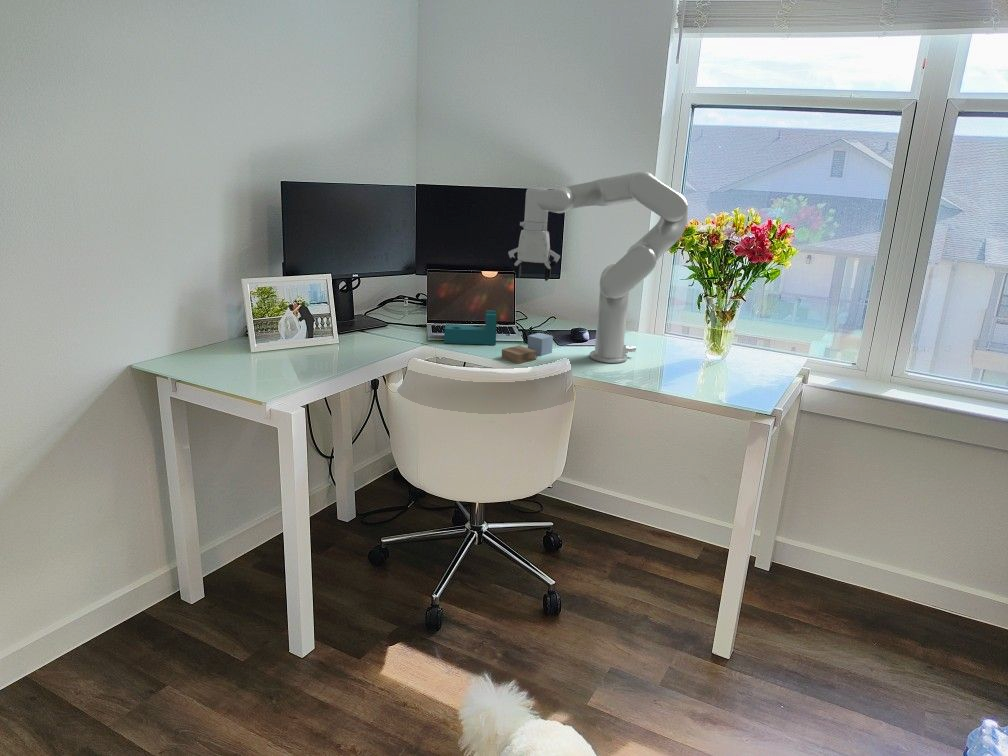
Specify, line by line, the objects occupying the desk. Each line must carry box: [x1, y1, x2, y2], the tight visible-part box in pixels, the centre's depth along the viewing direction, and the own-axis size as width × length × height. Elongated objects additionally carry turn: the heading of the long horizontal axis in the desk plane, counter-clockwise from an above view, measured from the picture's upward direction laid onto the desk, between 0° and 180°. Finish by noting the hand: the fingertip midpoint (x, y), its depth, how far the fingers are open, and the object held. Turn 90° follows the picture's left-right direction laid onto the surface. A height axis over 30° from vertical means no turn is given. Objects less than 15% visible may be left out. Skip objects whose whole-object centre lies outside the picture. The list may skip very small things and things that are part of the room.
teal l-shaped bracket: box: [443, 310, 498, 346], centre depth 259 cm, size 18×11×10 cm, turn 92°
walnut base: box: [501, 345, 537, 365], centre depth 241 cm, size 8×8×3 cm
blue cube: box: [527, 332, 554, 357], centre depth 249 cm, size 6×6×6 cm
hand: (532, 278), depth 243 cm, fingers open, 9 cm apart
